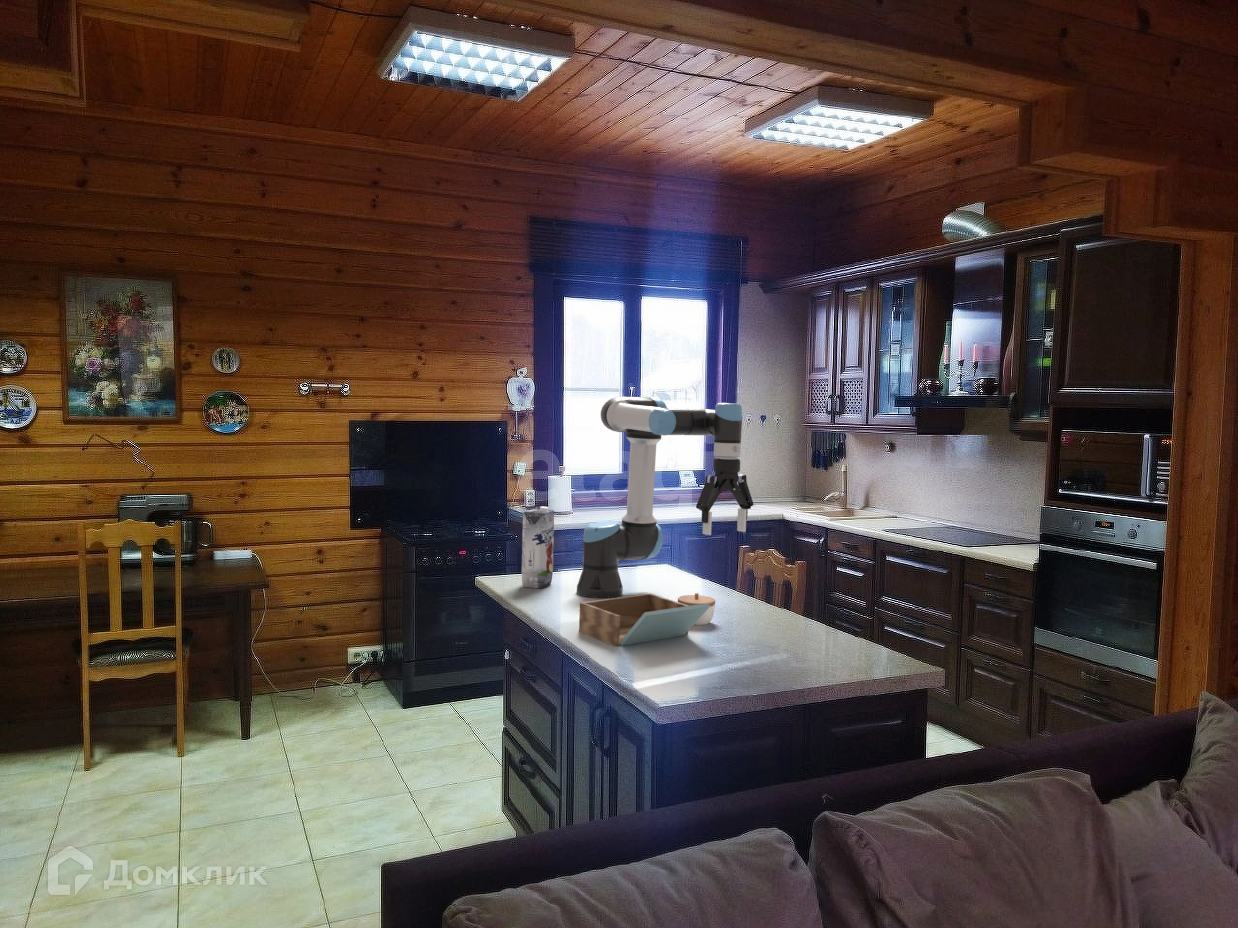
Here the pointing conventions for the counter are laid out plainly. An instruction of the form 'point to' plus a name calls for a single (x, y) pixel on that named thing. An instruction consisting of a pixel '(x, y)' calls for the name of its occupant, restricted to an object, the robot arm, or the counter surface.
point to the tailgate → (664, 624)
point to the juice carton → (537, 547)
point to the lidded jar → (698, 600)
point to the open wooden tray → (618, 615)
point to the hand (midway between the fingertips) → (724, 533)
